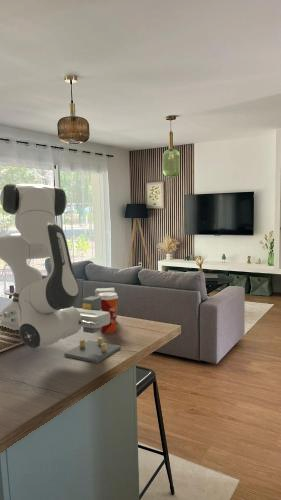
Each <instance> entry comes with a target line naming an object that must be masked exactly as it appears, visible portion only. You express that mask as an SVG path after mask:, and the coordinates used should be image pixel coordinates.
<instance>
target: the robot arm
mask: <svg viewBox="0 0 281 500" xmlns="http://www.w3.org/2000/svg"><path fill="white" fill-rule="evenodd" d="M67 198H68V197H67V195H66V192H65V190H64V189H63V188H62V187H59V186H56V185H54V186H51V185H46V184H39V183H13V182H11V183H7V184H5V185H4V186H3V188H2V190H1V191H0V205H1V207H2V210H3V211H4V212H5V213H7V214H10V215H15V217H14V226H15V228H16V230H17V231H18V232H19V233H17V232H16V233H8V234H3V235H0V259H1V260H2V261H4V262H5V264H7V266H9V268H10V269H11V271H12V273H13V274H12V275H13V278H14V280H13V281H14V287H15V289H14V290H15V291H14V293H11V294H10V295H11V296H10V297H12V301H11V302H9V303H8V304H7V305H6V306H5V307H4V308H3V309H2V310H1V314H0V315H1V317H0V318H1V319H0V327H2V326H3V328H5V327H6V329H8V328H9V330H11V329H12V331H18V335H19V337H20V340H21V341H22V342H23V344H24V345H25V346H27V347H30V348H31V349H41V348H45V347H48V346H50V345H51V346H52V345H53V344H56V343H58V342H59V341H60V340H64V339H66V338H69V337H72V336H73V335H75V334H77V333H79V331H80V330H81V328H83V327H88V328H99V327H102V326H105V325H108V324H109V323H110V313H109V312H105V311H102V309H97V310H89V309H83V307H82V308H79V307H74V305H75V304H76V302H77V301H78V299H79V295H80V287H79V283H78V280H77V277H76V276H75V273H74V268H73V264H72V260H71V255H70V250H69V246H68V242H67V241H68V240H67V239H66V234H65V232H64V230H63V229H62V227H60V226H59V225H57V222H56V217H59V216H62V215H63V214H64V213H65V210H66V208H67V206H68V205H67V204H68V199H67ZM47 258H49V261H50V262H49V263H50V268H51V270H50V273H49V275H47V277H44V278H43V274H42V272H41V271H40V269H38V268H37V267H36V268H35V267H34V266H31V265H28V263H27V261H28V260H33V259H34V260H37V259H47Z"/></svg>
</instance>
